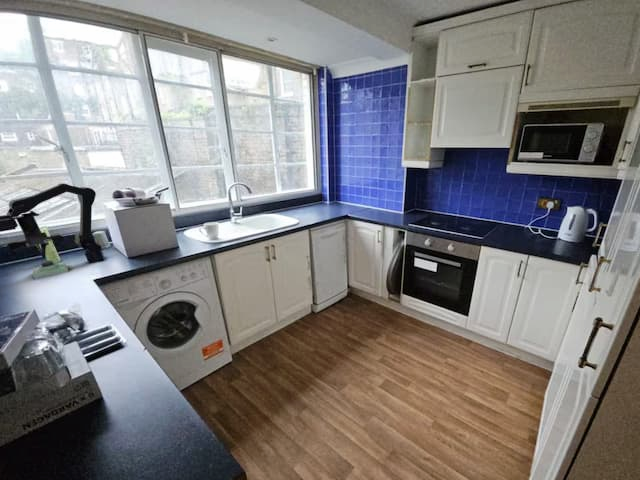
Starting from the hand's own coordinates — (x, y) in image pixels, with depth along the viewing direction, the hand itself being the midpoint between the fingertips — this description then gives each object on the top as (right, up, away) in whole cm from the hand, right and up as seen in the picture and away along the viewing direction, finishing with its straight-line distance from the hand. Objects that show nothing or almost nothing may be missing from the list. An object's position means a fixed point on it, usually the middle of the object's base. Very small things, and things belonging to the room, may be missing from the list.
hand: (44, 257), depth 144 cm
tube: (-12, -2, +17) cm, 21 cm away
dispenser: (0, -7, +3) cm, 8 cm away
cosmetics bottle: (-3, +7, +38) cm, 39 cm away
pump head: (0, -4, +2) cm, 4 cm away
